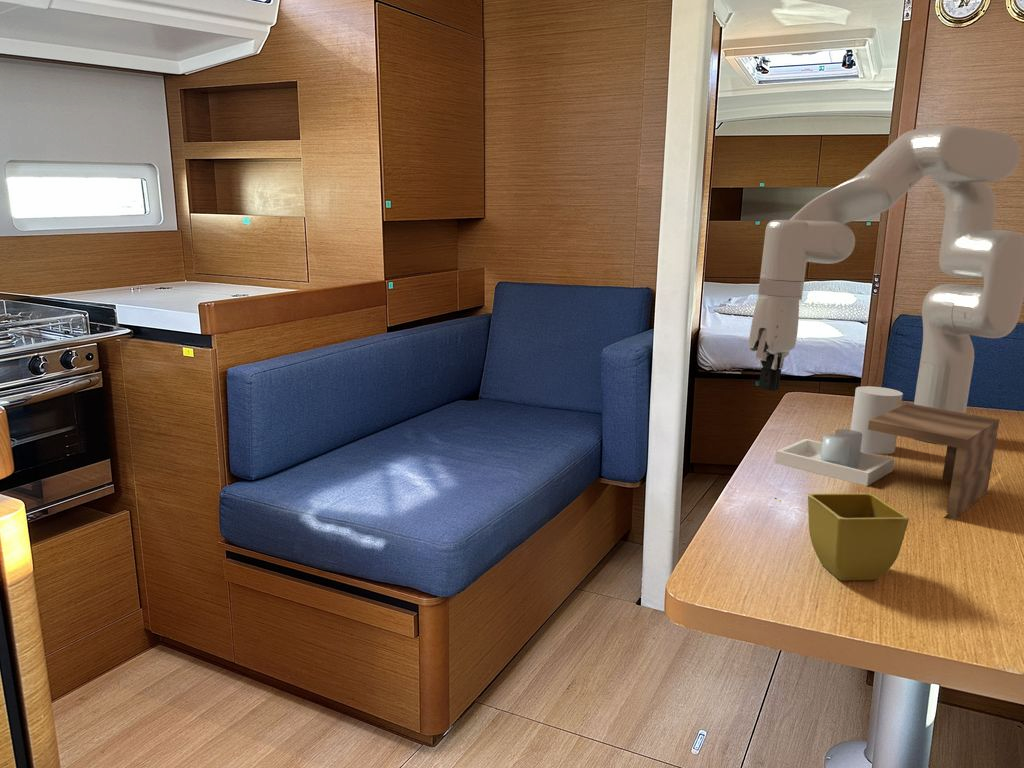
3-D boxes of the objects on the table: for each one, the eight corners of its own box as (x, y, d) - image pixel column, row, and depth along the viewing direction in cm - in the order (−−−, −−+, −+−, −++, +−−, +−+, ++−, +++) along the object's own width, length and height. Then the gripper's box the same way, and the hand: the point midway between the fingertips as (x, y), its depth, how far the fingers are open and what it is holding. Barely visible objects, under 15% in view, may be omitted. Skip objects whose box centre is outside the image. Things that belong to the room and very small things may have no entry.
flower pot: (798, 557, 100) (806, 492, 98) (862, 556, 101) (871, 492, 99) (831, 589, 92) (840, 518, 90) (901, 588, 92) (911, 518, 91)
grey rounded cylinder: (837, 459, 140) (841, 427, 139) (862, 465, 137) (866, 433, 136) (827, 464, 137) (831, 432, 136) (852, 470, 134) (856, 437, 133)
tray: (803, 453, 146) (805, 438, 145) (892, 475, 135) (894, 458, 134) (774, 466, 137) (776, 450, 137) (866, 490, 126) (868, 473, 126)
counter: (898, 471, 137) (907, 403, 134) (987, 492, 127) (999, 419, 125) (859, 494, 124) (869, 420, 121) (954, 520, 115) (967, 439, 112)
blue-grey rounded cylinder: (825, 465, 136) (829, 432, 135) (850, 471, 133) (854, 438, 132) (815, 470, 133) (819, 437, 132) (840, 477, 130) (844, 443, 129)
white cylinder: (899, 459, 144) (908, 397, 141) (853, 455, 145) (861, 394, 143) (887, 447, 152) (896, 388, 149) (844, 443, 153) (851, 385, 151)
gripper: (779, 287, 146) (768, 381, 150) (741, 289, 135) (730, 390, 139) (818, 290, 141) (805, 388, 145) (781, 293, 130) (768, 398, 134)
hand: (768, 389), depth 142 cm, fingers closed
